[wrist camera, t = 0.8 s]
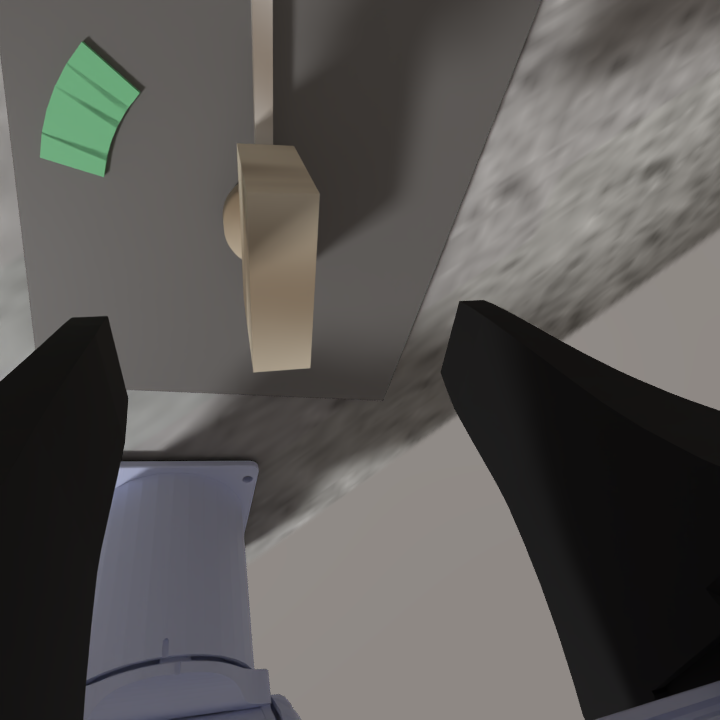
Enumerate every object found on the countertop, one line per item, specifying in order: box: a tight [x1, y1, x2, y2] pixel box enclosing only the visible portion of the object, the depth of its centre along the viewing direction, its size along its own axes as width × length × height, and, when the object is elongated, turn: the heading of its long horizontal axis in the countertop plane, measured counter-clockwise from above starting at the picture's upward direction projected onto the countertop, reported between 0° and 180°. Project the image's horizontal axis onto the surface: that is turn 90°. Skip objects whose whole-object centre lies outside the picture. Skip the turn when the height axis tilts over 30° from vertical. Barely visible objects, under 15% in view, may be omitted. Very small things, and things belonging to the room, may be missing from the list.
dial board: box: [0, 0, 541, 401], centre depth 16 cm, size 16×14×1 cm
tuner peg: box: [223, 0, 320, 372], centre depth 13 cm, size 9×3×5 cm, turn 174°
